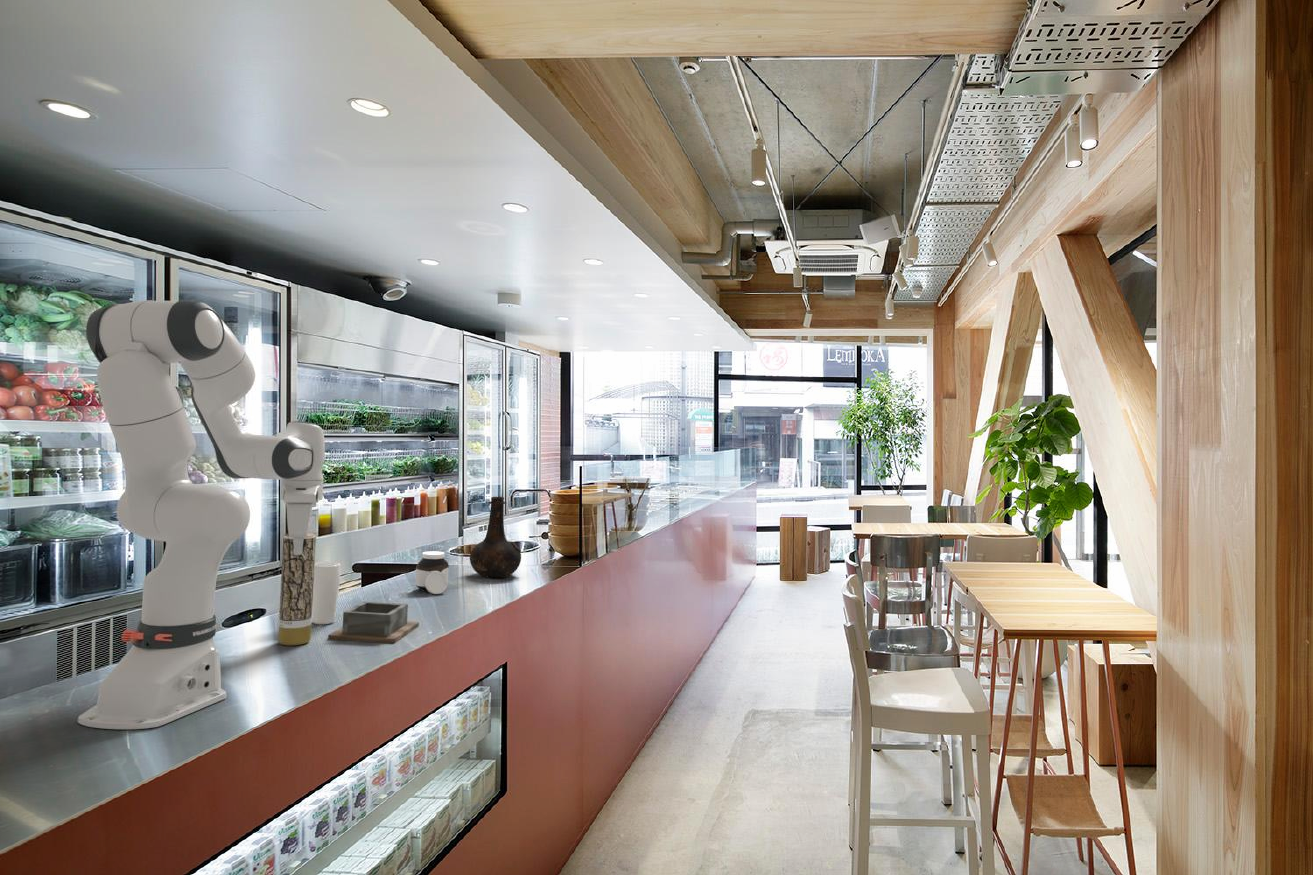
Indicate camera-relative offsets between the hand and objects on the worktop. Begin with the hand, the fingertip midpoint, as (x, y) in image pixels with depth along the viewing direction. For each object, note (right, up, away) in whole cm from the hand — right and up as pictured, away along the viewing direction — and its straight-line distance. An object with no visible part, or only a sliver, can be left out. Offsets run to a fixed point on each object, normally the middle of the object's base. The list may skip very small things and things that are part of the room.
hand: (298, 551), depth 169 cm
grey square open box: (+13, -22, +12) cm, 28 cm away
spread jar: (+13, -22, +61) cm, 66 cm away
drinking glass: (-3, -21, +18) cm, 28 cm away
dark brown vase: (+26, -23, +89) cm, 96 cm away
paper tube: (-1, -21, 0) cm, 21 cm away
